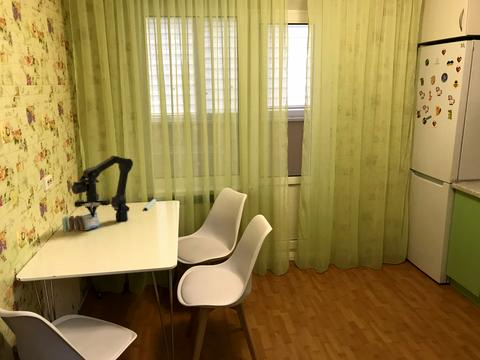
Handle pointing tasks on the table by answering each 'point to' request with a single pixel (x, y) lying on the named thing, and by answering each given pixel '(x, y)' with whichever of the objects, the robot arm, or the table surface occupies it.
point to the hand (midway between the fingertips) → (93, 216)
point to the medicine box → (90, 221)
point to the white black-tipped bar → (149, 204)
